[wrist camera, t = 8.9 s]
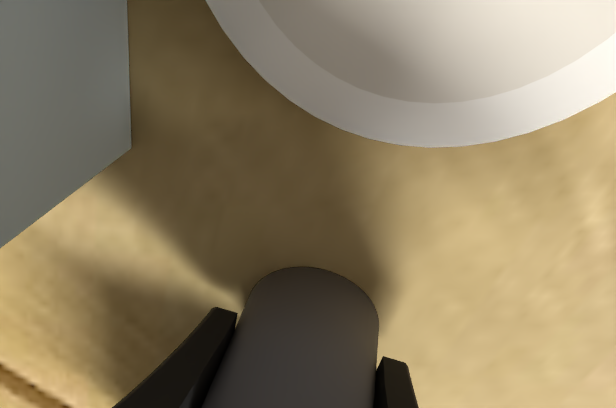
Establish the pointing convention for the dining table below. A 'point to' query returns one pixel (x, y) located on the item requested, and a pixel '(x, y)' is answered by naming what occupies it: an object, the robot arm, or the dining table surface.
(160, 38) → the dining table surface
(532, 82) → the dish
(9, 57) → the cover
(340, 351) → the dark grey cylinder
